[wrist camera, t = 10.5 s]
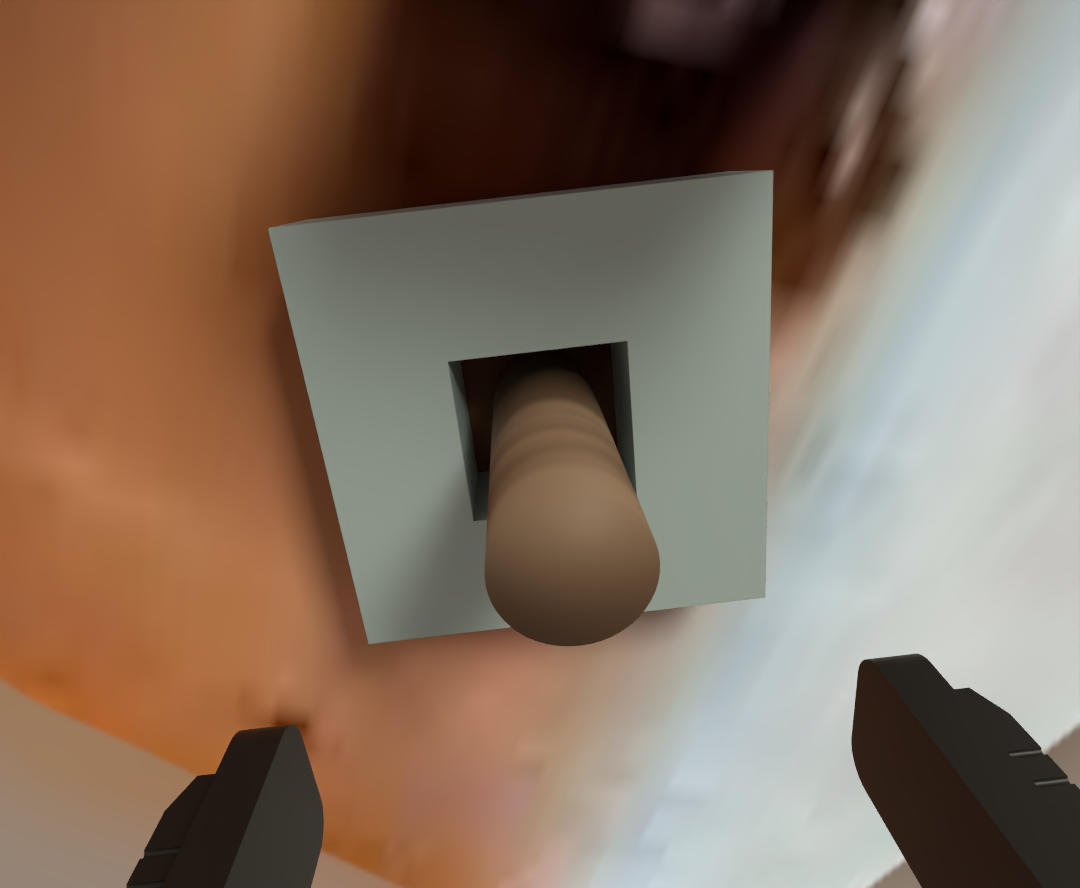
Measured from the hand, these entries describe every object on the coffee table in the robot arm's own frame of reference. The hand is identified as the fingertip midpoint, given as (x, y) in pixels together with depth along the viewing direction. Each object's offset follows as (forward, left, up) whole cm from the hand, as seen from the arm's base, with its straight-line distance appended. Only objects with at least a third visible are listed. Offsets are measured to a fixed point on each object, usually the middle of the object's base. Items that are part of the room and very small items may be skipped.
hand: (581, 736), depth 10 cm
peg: (0, 0, -16) cm, 16 cm away
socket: (0, 0, -16) cm, 16 cm away
